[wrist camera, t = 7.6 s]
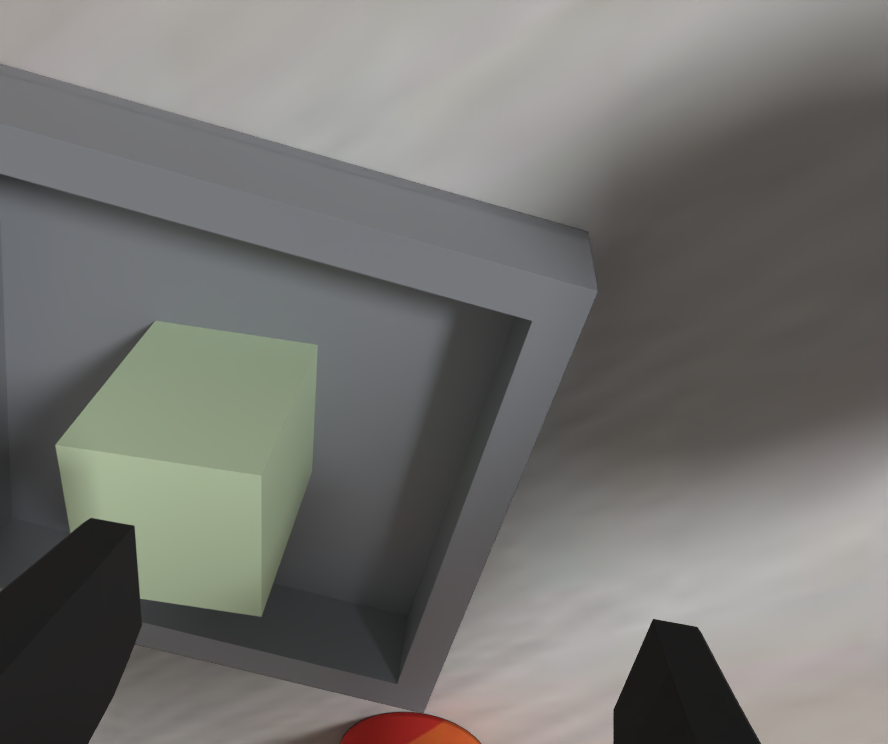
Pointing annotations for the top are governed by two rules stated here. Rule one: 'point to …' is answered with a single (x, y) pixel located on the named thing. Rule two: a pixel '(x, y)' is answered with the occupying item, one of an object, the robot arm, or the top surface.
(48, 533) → the tray
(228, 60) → the top surface
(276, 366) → the green block
